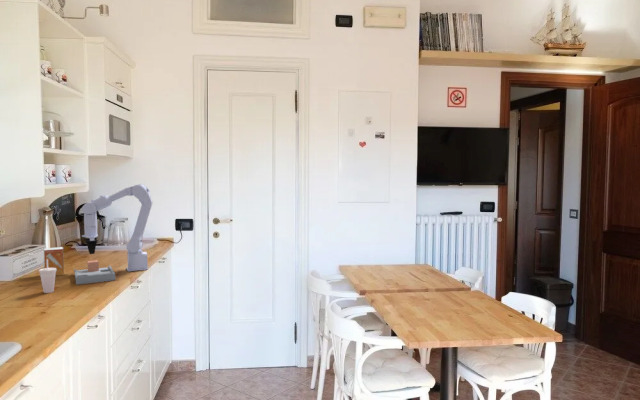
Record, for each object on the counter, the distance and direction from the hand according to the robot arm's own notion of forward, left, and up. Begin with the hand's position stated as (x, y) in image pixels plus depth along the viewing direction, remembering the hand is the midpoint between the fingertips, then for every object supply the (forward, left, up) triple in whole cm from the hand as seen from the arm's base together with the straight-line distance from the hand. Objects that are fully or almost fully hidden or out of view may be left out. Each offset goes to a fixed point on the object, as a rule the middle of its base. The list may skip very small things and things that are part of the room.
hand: (91, 253), depth 223 cm
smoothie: (+19, +33, -10) cm, 39 cm away
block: (0, +8, -7) cm, 11 cm away
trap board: (0, +15, -9) cm, 17 cm away
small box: (+17, -1, -10) cm, 19 cm away
